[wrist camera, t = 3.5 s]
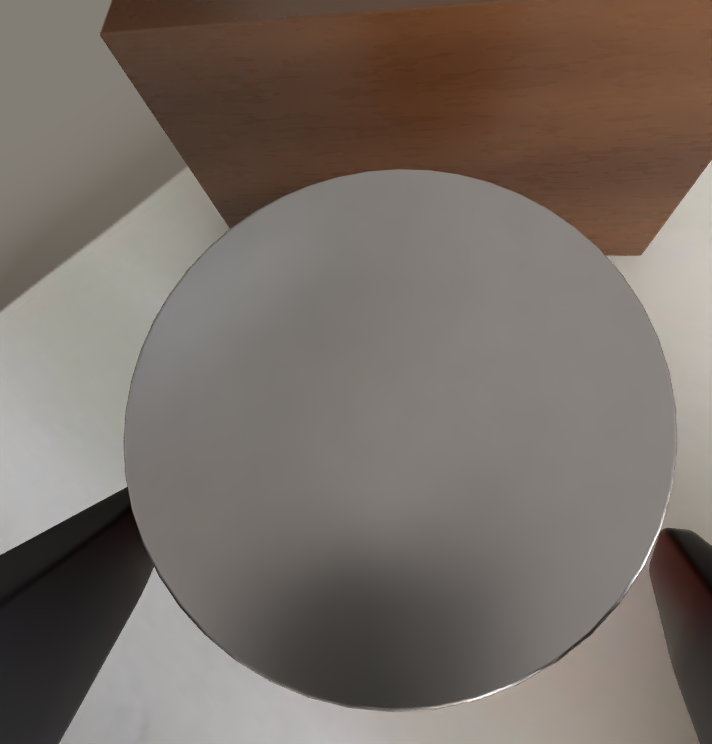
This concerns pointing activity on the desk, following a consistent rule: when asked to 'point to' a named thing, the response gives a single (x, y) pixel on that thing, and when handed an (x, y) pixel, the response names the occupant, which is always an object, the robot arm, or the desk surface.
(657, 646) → the desk surface
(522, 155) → the wooden board
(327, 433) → the can
